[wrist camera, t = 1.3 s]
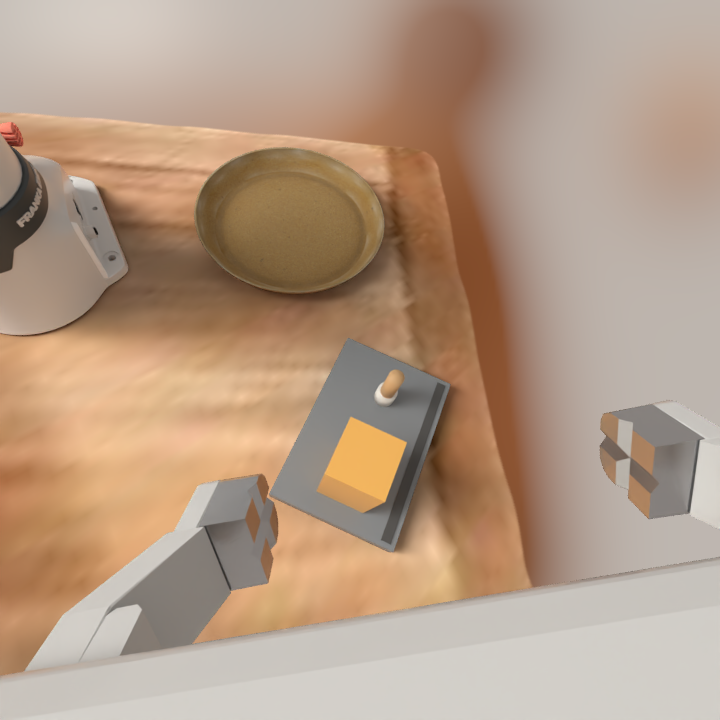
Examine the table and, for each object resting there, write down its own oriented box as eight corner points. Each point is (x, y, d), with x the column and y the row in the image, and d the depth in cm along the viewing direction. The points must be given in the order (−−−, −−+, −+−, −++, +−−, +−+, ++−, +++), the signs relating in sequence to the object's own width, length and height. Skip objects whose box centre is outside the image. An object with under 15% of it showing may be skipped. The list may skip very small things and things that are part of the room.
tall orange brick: (316, 491, 40) (324, 474, 31) (337, 445, 42) (350, 416, 33) (362, 513, 40) (384, 502, 31) (381, 465, 42) (407, 442, 33)
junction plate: (388, 552, 41) (410, 552, 34) (270, 496, 41) (266, 484, 34) (444, 390, 49) (471, 362, 42) (345, 345, 50) (355, 310, 42)
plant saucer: (198, 310, 49) (192, 295, 46) (198, 164, 58) (194, 143, 55) (393, 301, 54) (400, 287, 51) (365, 168, 63) (368, 149, 60)
